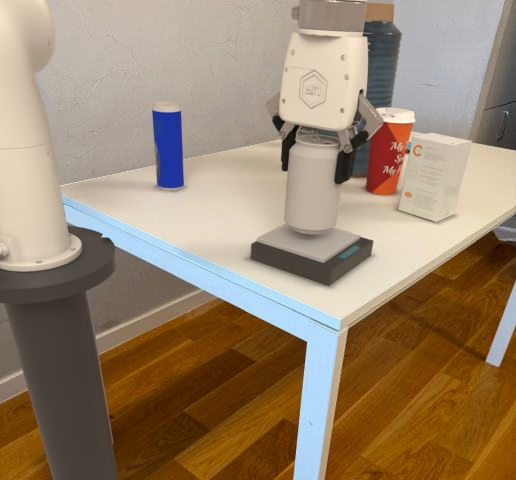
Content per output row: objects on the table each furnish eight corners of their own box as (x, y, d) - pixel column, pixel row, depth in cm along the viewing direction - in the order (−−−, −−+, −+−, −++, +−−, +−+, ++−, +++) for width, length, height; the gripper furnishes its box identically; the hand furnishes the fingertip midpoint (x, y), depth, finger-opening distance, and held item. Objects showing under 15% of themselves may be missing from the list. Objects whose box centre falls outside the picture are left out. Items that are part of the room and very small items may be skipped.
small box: (453, 215, 92) (473, 140, 85) (435, 222, 88) (454, 145, 81) (415, 203, 97) (431, 131, 90) (396, 210, 93) (411, 135, 86)
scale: (329, 286, 67) (332, 265, 65) (250, 259, 73) (251, 239, 71) (371, 255, 76) (374, 236, 74) (297, 233, 82) (299, 215, 80)
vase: (315, 177, 109) (334, 0, 91) (307, 157, 122) (322, 0, 104) (390, 179, 109) (423, 5, 92) (373, 160, 123) (399, 5, 105)
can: (305, 240, 68) (314, 146, 61) (273, 222, 73) (279, 134, 66) (346, 230, 71) (360, 141, 64) (313, 214, 76) (323, 130, 70)
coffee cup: (393, 199, 98) (409, 116, 90) (354, 191, 102) (366, 110, 93) (406, 189, 104) (422, 110, 96) (369, 181, 108) (381, 105, 99)
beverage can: (160, 182, 101) (155, 100, 92) (185, 184, 101) (182, 102, 92) (154, 190, 96) (148, 105, 88) (181, 192, 96) (178, 106, 88)
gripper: (251, 15, 59) (246, 168, 69) (389, 25, 51) (361, 196, 61) (286, 16, 64) (276, 158, 74) (415, 25, 57) (386, 183, 66)
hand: (315, 174), depth 68 cm, fingers closed on can, 7 cm apart
